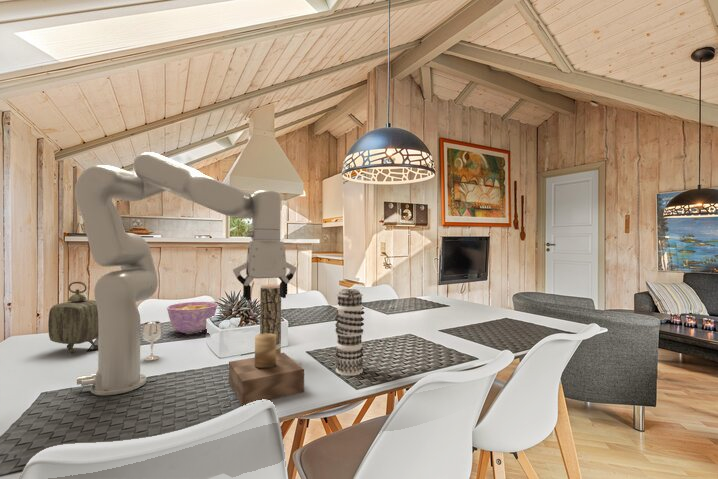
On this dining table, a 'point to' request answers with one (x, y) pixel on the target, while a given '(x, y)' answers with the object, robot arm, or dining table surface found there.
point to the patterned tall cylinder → (349, 332)
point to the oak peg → (265, 351)
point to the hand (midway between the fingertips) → (265, 298)
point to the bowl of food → (191, 316)
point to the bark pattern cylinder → (271, 312)
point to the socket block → (265, 379)
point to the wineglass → (151, 335)
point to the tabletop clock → (74, 320)
